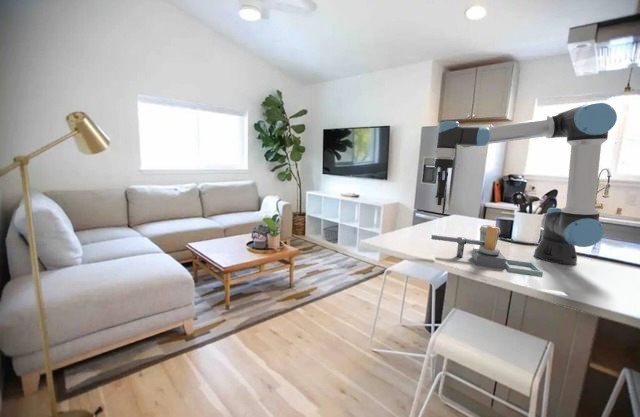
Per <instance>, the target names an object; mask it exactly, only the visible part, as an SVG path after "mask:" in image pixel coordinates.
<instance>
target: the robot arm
mask: <svg viewBox="0 0 640 417" xmlns="http://www.w3.org/2000/svg"><path fill="white" fill-rule="evenodd" d="M617 119H618V116H617V112H616V110H615V108H614V107H612V106H611V105H610V104H608V103H605V102H598V101H597V102H591V103H585V104H583V105H580V106H578V107H574V108H570V109H568V110H565V111H562V112H559V113H556V114H549V115H546V116H545V118H540V119H532V120H525V121H521V122H520V121H519V122H513V123H506V124H499V125H492V126H487V127H484V126H483V127H482V126H479V127H478V126H470V127H469V126H460V123H459V121H454V120H453V121H452V120H447V121H446V120H444V121H442V122H441V123H439V128H438V133H437V142H436V150H434V153H436V154H435V157H436V158H435V160H434V167H435V168H439V171H437V188H436V193H435V194H436V195H434V196H435V205H434V212H435V213H442V211H443V203H444V198H445V192H446V190H445V189H446V183H447V179H448V176H449V172H447V170H448V169H453V168H454V163H455V160H454V159H455V158H456V157H455V155H456V147H457V146H461V147H463V148H470V147H485V146H487V145H492V144H499V143H505V142H513V141H520V140H529V139H536V138H537V139H538V138H543V137H545V138H546V139H554V138H566V143H567V144H569V145H570V157H569V158H570V159H569V169H568V181H567V190H566V191H567V192H566V202H565V203H566V204H565V206H564V207H563V208H561V207H549V208H548V209H547V210H546V214H545V219H544V220H545V221H544V225H543V230H542V236H541V240H540V241H539V244H538V245H537V246H536V248H535V249H534V253H533V254H534V257H536V258H539V259H540V260H544V261H547V262H551V263H555V264H563V265H575V264H577V261H578V256H577V251H576V247H579V248H588V247H592V246H594V245H596V244H598V243H599V242H601V240H602V239H603V237H604V235H605V228H604V225H603V224H602V223H601V222H600V211H599V210H598V209H596V199H597V190H598V189H597V188H598V179H599V170H600V160H601V151H602V149H601V148H602V145H603V143H605V142H606V141H608V136H609V131H610V130H612V128H614V127H615V124H616V122H617Z"/></svg>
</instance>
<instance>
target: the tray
mask: <svg viewBox="0 0 640 417" xmlns="http://www.w3.org/2000/svg"><path fill="white" fill-rule="evenodd" d="M511 265H516V266H524V267H530V268H531V269H528V268H521V267H520V268H519V267H513V266H511ZM505 269H506V270H507V271H508V272H509V273H510V272H511V273H519V274H524V275H533V276H538V277H543V274H544V271H542V269H541V268H539V267H538V266H537V265H536V264H535V263H534V262H531V261H530V262H529V261H524V260H523V261H522V260H516V259H508V258H506V263H505Z"/></svg>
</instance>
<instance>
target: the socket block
mask: <svg viewBox="0 0 640 417" xmlns="http://www.w3.org/2000/svg"><path fill="white" fill-rule="evenodd" d="M471 259H472V261H473V263H474V264H475V266H478V267H479V266H481V267H486V268H494V269H499V270H500V269H502V270H505V269H506V267H505V263H506V259H507V258H506V257H505V256H504V255H503V253H501V251H500V252H499V255H495V256H490V255H482V253H481V252H480V251H479V248H474V247H473V248H472V252H471Z"/></svg>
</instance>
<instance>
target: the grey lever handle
mask: <svg viewBox="0 0 640 417" xmlns="http://www.w3.org/2000/svg"><path fill="white" fill-rule="evenodd" d="M430 239H431V240H435V241H441V242H442V241H443V242H452V243H457V250H456V258H461V259H462V258H464V250H465V245H468V244H469V245H476V246H480V245H483V246H484V245H485V241H480V239H478V240H477V239H471V238H470V239H468V238H466V237H461V236H459V237H458V236H457V237H453V236H446V235H445V236H443V235H435V234H431V238H430Z"/></svg>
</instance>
